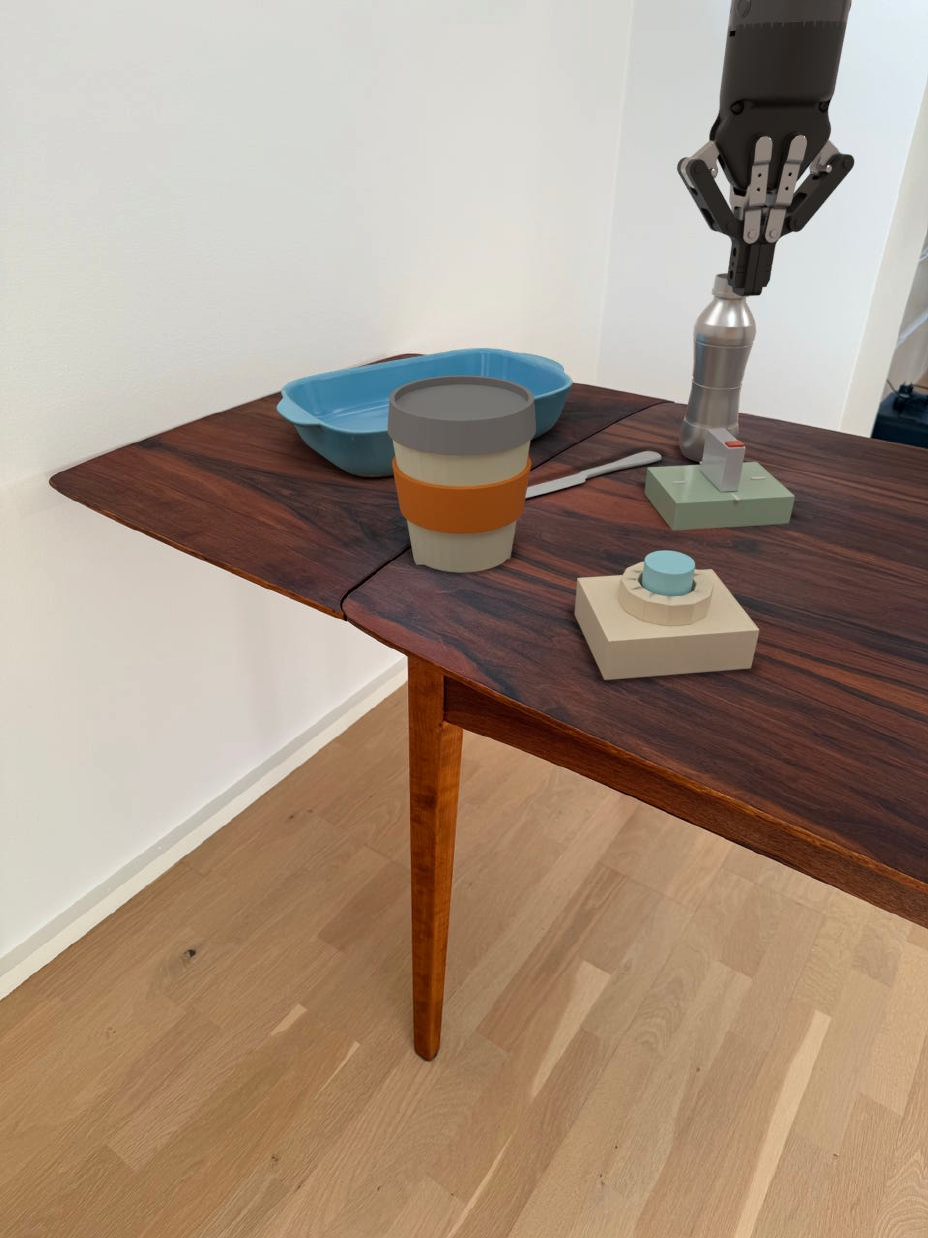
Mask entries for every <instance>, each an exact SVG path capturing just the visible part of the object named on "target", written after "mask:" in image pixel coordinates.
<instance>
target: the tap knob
mask: <svg viewBox="0 0 928 1238" xmlns="http://www.w3.org/2000/svg"><path fill="white" fill-rule="evenodd" d="M746 449H747V447H746V446H745V444H744V443H743V442H742V441H741V440H739V439H738V440H737V439H736V438H734V437H733V436H732V435H731V434H730V433H729V432H728V431H726V430H725V429H724V428H717V429H707V433H706V440H705V446H704V452H703V459H702V465H701V464H700V465H701V472H702V473H703V474H704V475H705V476H706V477H707V478H708V479H709V480H710V481H711V482H712V483H713V484H714V485H715V486H716V487H717V488H718V489H719V491H720V492H727V491H738V488H739V482H740V477H741V472H742V466H743V462H744V459H745V455H746Z"/></svg>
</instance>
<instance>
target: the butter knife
mask: <svg viewBox="0 0 928 1238" xmlns="http://www.w3.org/2000/svg"><path fill="white" fill-rule="evenodd" d="M662 458H663V457H662V455H661V454H660V453H658V452H656V451H651V450H644V451H642V452H637V453H634V454H633V455H629V456H626V457H624V458H621V459H619V460H615V461H614V462H610V463H607V464H603V465H601V466H596V467H593V468H589V469H585V470H581V471H580V472H578V473H575V474H571V475H568V476H564V477H560V478H557V479H552V480H549V481H546V482H543V483H538V484H535V485H531V486H527V491H526V497H525V499H528V498H533V497H535V496H539V495H544V494H548V493H551V492H554V491H558V490H562V489H565V488H570V487H572V486H576V485H580V484H583V483H585V482H586V479H591V478H594V477H597V476H598V477H599V476H601V475H605V474H608V473H612V472H616V471H620V470H626V469H630V468H637V467H640V466H645V465H650V464H654V463H657V462H660V461H661V460H662Z"/></svg>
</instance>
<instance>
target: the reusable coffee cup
mask: <svg viewBox="0 0 928 1238" xmlns="http://www.w3.org/2000/svg"><path fill="white" fill-rule="evenodd" d="M535 432H536V422H535V406H534V396H533V394H532V392H531V391H530V390H529V389H527V388H526V387H524V386H522V385H520V384H517V383H514V382H512V381H508V380H504V379H499V378H492V377H484V376H469V375H455V376H440V377H432V378H425V379H421V380H416V381H412V382H409V383H406V384H404V385H402V386H400V387H398V388H396V389H395V390H394V391H392V393H391V394H390V396H389V412H388V434H389V436H390V438H391V439H393V445H394V450H395V456H394V458H393V461H392V466H393V472H394V475H393V477H394V483H395V487H396V493H397V499H398V505H399V511H400V513H401V514H402V516H403V517H404V518H405V519H406V523H407V529H408V533H409V539H410V545H411V550H412V551H411V552H412V556H413V561H414V563H415V565H416V566H421V565H422V566H423V565H424V566H427V567H429V568H432V569H434V570H438V571H442V572H449V573H474V572H481V571H485V570H489V569H492V568H495V567H497V566H500V565H501V564H503V563H505V561H506V560H511V556H512V551H513V544H514V540H515V539H514V538H515V535H516V534H515V533H516V527H517V523H518V522H517V521H518V519H519V518H520V517H521V516H522V514H523V512H524V508H525V502H526V498H525V497H526V491H527V487H529V486H528V485H529V479H530V474H531V468H532V460H531V457H530V455H529V452H530V446H531V441H532V440H531V439H532V438H533V436H534V435H535Z"/></svg>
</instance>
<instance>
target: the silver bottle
mask: <svg viewBox="0 0 928 1238" xmlns="http://www.w3.org/2000/svg"><path fill="white" fill-rule="evenodd" d="M727 274H728V272H725V273H723V272H722V273H717V274H716V275H715V276H714V282H713V287H712V289H711V295H712V296H713V298H712V300H711V301H710V302H709V303H708V304H707V305H706V306H705V308H704V309H703V310H702V312H700V314H699V315H698V316H697V318H696V320H695V323H694V324H693V332H692V333H693V334H692V335H693V340H692V342H693V343H692V344H693V349H692V351H693V364H692V375H691V376H692V378H691V385H690V387H691V388H690V392H689V397H688V400H687V401H688V402H687V406H686V410H685V415H684V417H683V420H682V423H681V426H680V430H679V433H678V443H679V444H678V445H679V446H678V447H679V449H680V451H681V453H682V455H683V456H684V457H685V458H687V459H688V460H691V461H694V462H697V463H700V462H702V459H703V452H704V446H705V440H706V433H707V429H717V428H724V429H725V430H726V431H728V432H729V433H730V434H731V435H732V436H733V437H734V438H736V439H737V440H738V441H739V440H740V439H739V437H740V427H739V414H740V413H739V411H740V400H741V391H742V387H743V381H744V379H745V374H746V368H747V364H748V361H749V359H750V356H751V352H752V349H753V345H754V341H755V340H756V339H755V338H756V334H757V326H756V321H755V318H754V316H753V313H752V311H751V309H750V306H749V304H748V303H747V298H749V297H750V296H739V295H737V294H735V293H733V291H732V286H730V285H728V281H727Z"/></svg>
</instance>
